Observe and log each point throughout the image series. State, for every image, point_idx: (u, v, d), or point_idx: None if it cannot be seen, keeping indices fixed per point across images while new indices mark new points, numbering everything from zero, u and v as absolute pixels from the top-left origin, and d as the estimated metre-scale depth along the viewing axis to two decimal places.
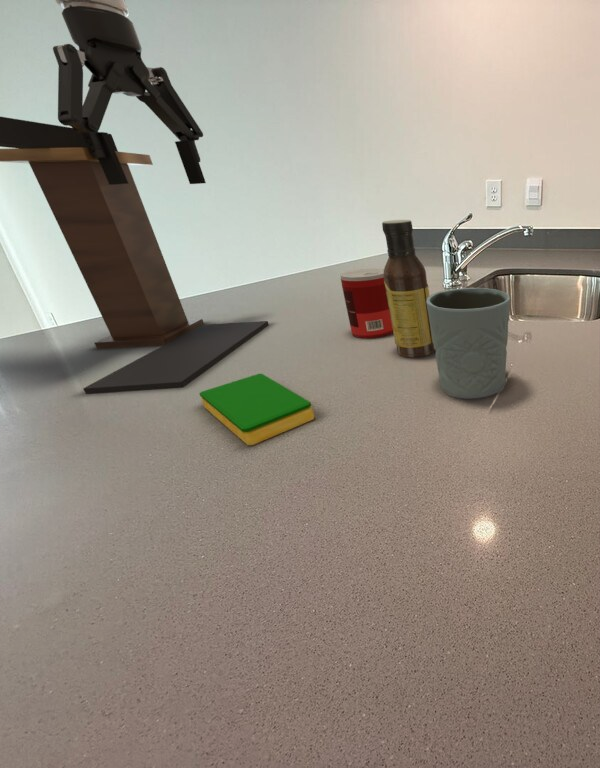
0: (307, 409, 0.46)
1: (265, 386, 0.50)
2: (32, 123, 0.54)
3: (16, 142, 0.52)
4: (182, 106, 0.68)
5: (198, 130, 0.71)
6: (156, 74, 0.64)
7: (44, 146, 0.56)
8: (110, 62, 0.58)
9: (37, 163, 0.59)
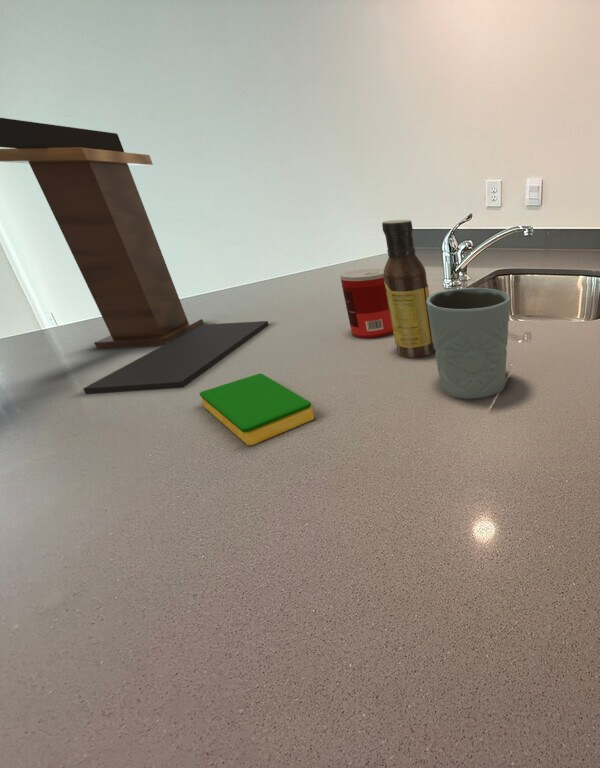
0: (307, 409, 0.46)
1: (265, 386, 0.50)
2: (25, 122, 0.54)
3: (5, 141, 0.51)
4: None
5: None
6: None
7: (38, 146, 0.55)
8: None
9: (37, 163, 0.59)
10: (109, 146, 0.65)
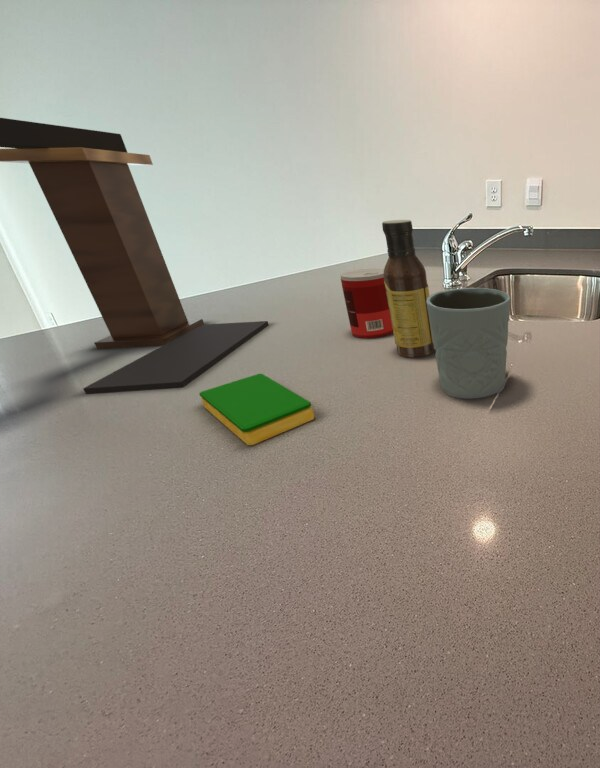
0: (307, 409, 0.46)
1: (265, 386, 0.50)
2: (30, 123, 0.54)
3: (10, 142, 0.52)
4: None
5: None
6: None
7: (43, 146, 0.56)
8: None
9: (37, 163, 0.59)
10: (112, 147, 0.65)
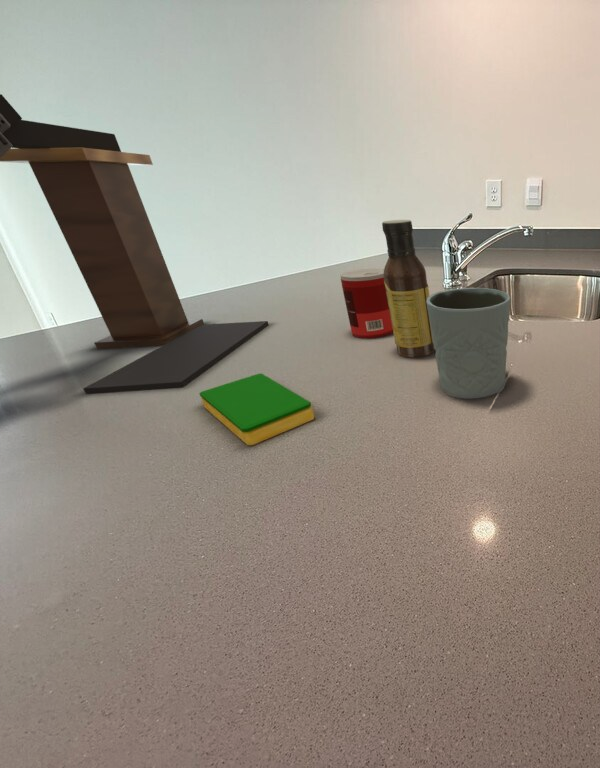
0: (307, 409, 0.46)
1: (265, 386, 0.50)
2: (36, 123, 0.55)
3: (21, 142, 0.53)
4: None
5: (6, 148, 0.48)
6: None
7: (48, 146, 0.56)
8: None
9: (37, 163, 0.59)
10: (108, 147, 0.66)
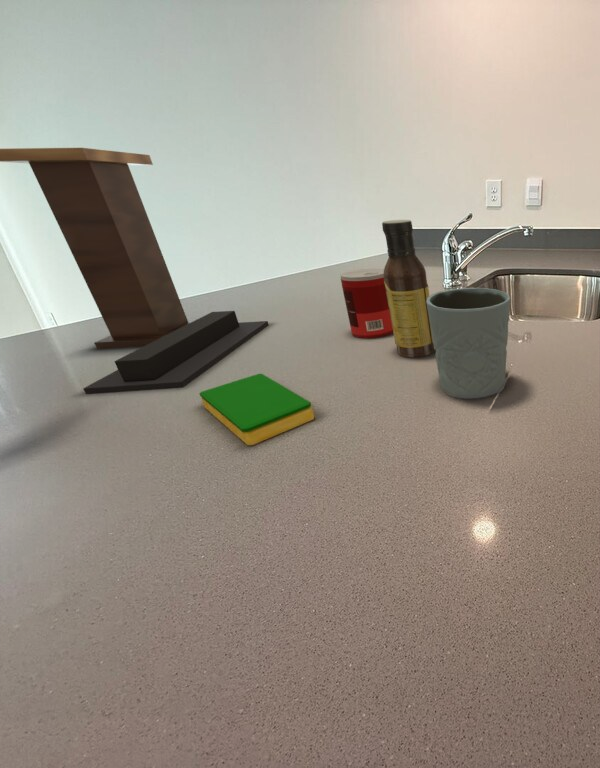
0: (307, 409, 0.46)
1: (265, 386, 0.50)
2: (190, 336, 0.63)
3: (182, 360, 0.61)
4: None
5: None
6: None
7: (197, 351, 0.64)
8: None
9: (37, 163, 0.59)
10: (231, 325, 0.74)
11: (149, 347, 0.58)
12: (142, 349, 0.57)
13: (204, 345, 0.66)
